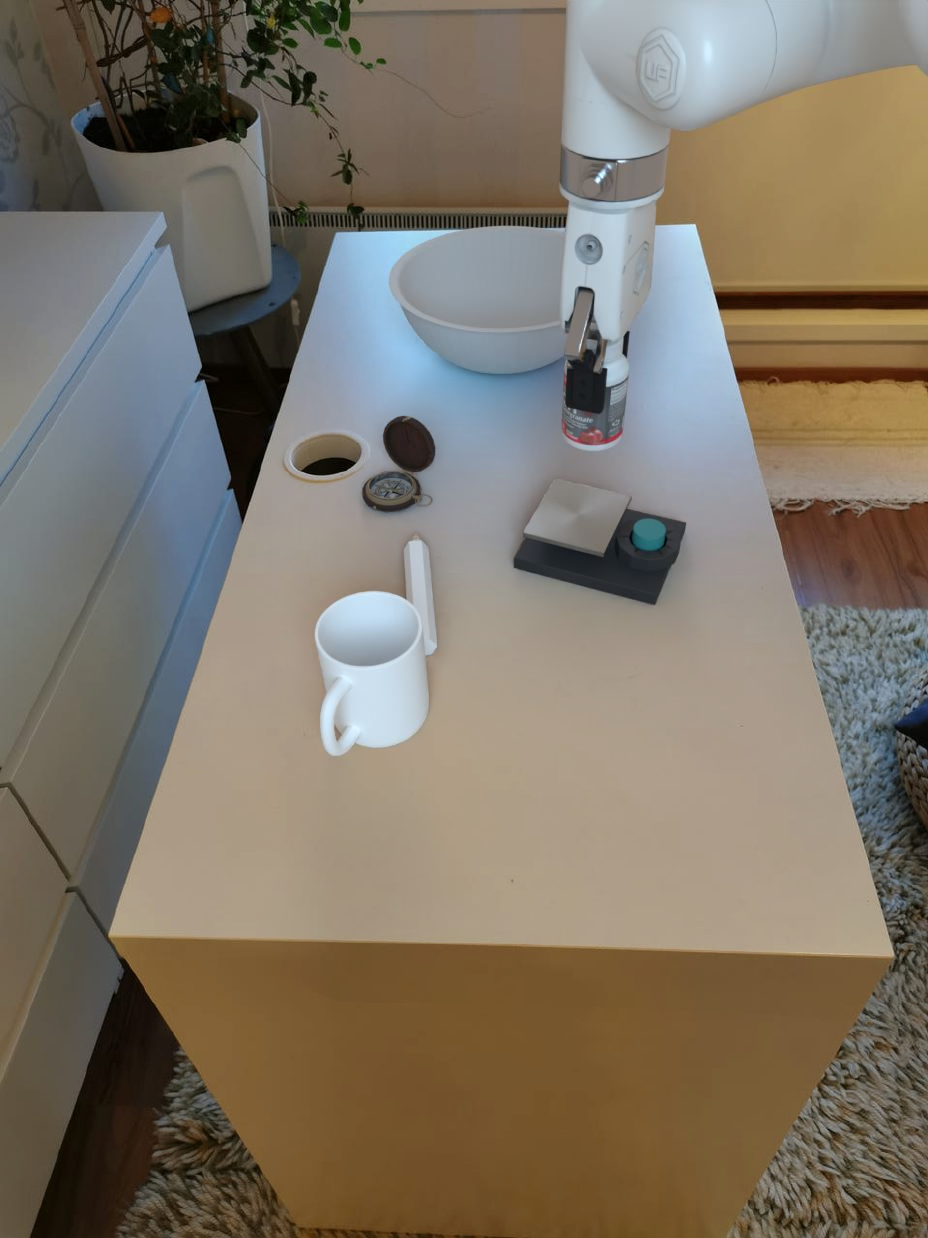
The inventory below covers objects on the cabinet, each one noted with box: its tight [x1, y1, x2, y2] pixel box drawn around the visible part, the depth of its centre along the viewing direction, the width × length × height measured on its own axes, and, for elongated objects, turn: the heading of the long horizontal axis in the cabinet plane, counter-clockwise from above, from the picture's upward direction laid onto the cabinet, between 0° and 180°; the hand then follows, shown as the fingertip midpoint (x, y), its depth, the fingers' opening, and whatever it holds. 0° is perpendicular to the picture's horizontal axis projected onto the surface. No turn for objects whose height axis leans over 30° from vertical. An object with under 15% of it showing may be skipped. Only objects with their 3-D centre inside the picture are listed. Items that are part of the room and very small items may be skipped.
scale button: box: [632, 519, 666, 551], centre depth 90 cm, size 3×3×2 cm
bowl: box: [388, 225, 594, 375], centre depth 117 cm, size 27×27×10 cm
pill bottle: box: [560, 323, 630, 452], centre depth 80 cm, size 5×5×10 cm
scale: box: [513, 508, 687, 606], centre depth 92 cm, size 14×11×3 cm
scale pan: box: [522, 477, 633, 557], centre depth 92 cm, size 8×9×1 cm
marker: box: [403, 531, 438, 657], centre depth 89 cm, size 3×2×16 cm
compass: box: [361, 415, 436, 513], centre depth 98 cm, size 8×8×7 cm
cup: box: [314, 590, 430, 757], centre depth 75 cm, size 8×12×10 cm
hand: (595, 387), depth 80 cm, fingers closed on pill bottle, 5 cm apart
